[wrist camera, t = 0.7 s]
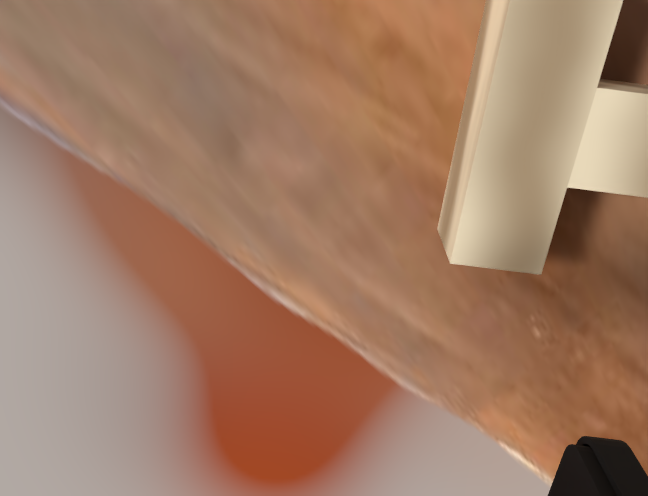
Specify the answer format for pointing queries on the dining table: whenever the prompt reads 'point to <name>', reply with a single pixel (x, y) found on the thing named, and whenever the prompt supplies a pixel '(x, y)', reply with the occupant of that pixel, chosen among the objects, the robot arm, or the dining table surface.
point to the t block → (539, 130)
